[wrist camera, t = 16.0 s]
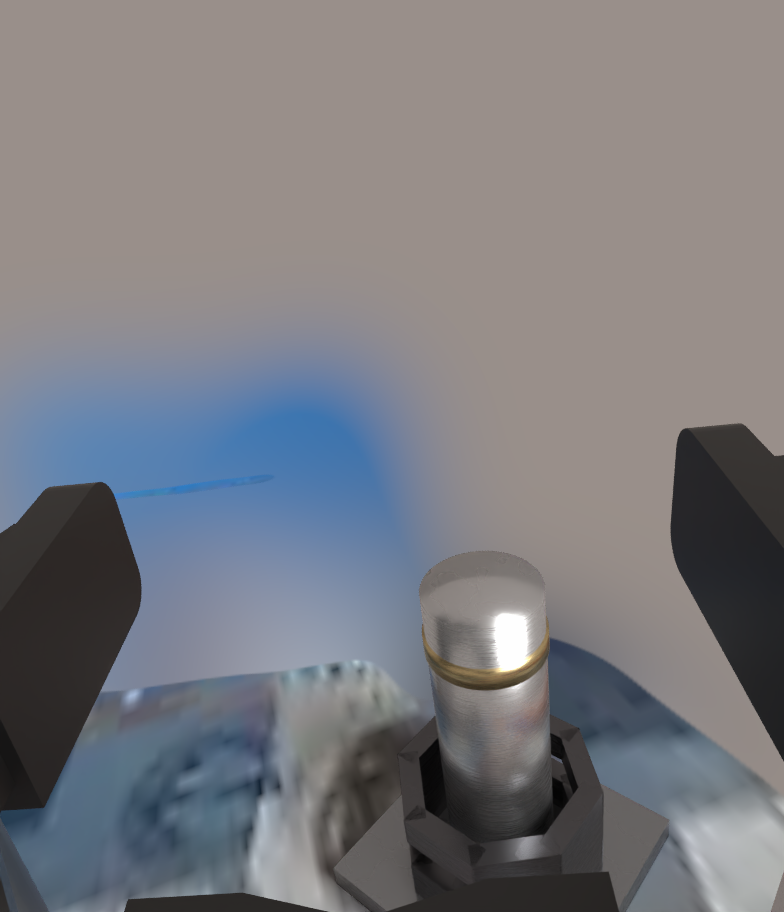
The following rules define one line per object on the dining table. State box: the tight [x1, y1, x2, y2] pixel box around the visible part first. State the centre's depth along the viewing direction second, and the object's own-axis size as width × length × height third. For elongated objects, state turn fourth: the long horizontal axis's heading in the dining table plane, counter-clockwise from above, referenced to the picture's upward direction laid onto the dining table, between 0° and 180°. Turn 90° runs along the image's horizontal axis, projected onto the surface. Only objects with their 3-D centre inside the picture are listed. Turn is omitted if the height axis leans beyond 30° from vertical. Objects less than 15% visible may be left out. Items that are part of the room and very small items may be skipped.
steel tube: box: [419, 551, 554, 844], centre depth 33 cm, size 5×5×16 cm
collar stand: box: [333, 715, 669, 912], centre depth 36 cm, size 12×12×6 cm
